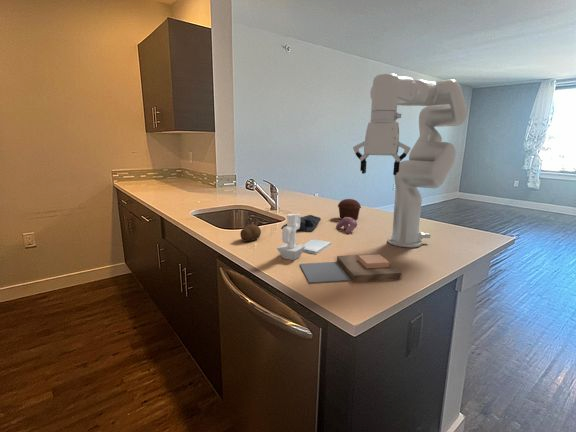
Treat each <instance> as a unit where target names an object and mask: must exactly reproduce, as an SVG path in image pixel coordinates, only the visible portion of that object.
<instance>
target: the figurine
mask: <svg viewBox="0 0 576 432" xmlns="http://www.w3.org/2000/svg"><path fill="white" fill-rule="evenodd" d="M300 217H301V214H300V213H289V214H286V222H287V223H286V224H287V226H285V227H284V228H283V229H282V232H281V237H282V238H281V240H282V242H283V244H282V245H280V246H277V248H276V250H277V251H278V252H279V254H280V256H281V258H282V259H287V260H292V261H295V260H296V259H298V258H300V257H301V255H302V254H303V250H304V248H305V245H303V244H300V243H299V244H298V243H297V240H296V239H297V237H296V236H297V235H296V233H297V231H296V230H298V229H299V228H300Z"/></svg>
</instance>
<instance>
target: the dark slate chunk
mask: <svg viewBox="0 0 576 432" xmlns="http://www.w3.org/2000/svg"><path fill="white" fill-rule="evenodd" d="M320 222H321V217H320V216H316V215H312V214H308V215H305V216H300V228H299V229H298V230H296V232H299V233H300V232H301V233H303V232H305V233H313V231H314V230H315V229H316V228H317V227H318V224H319V223H320ZM285 226H287V223H285V224H283V225H282V226H281V229H282V230H283V228H284V227H285Z"/></svg>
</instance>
